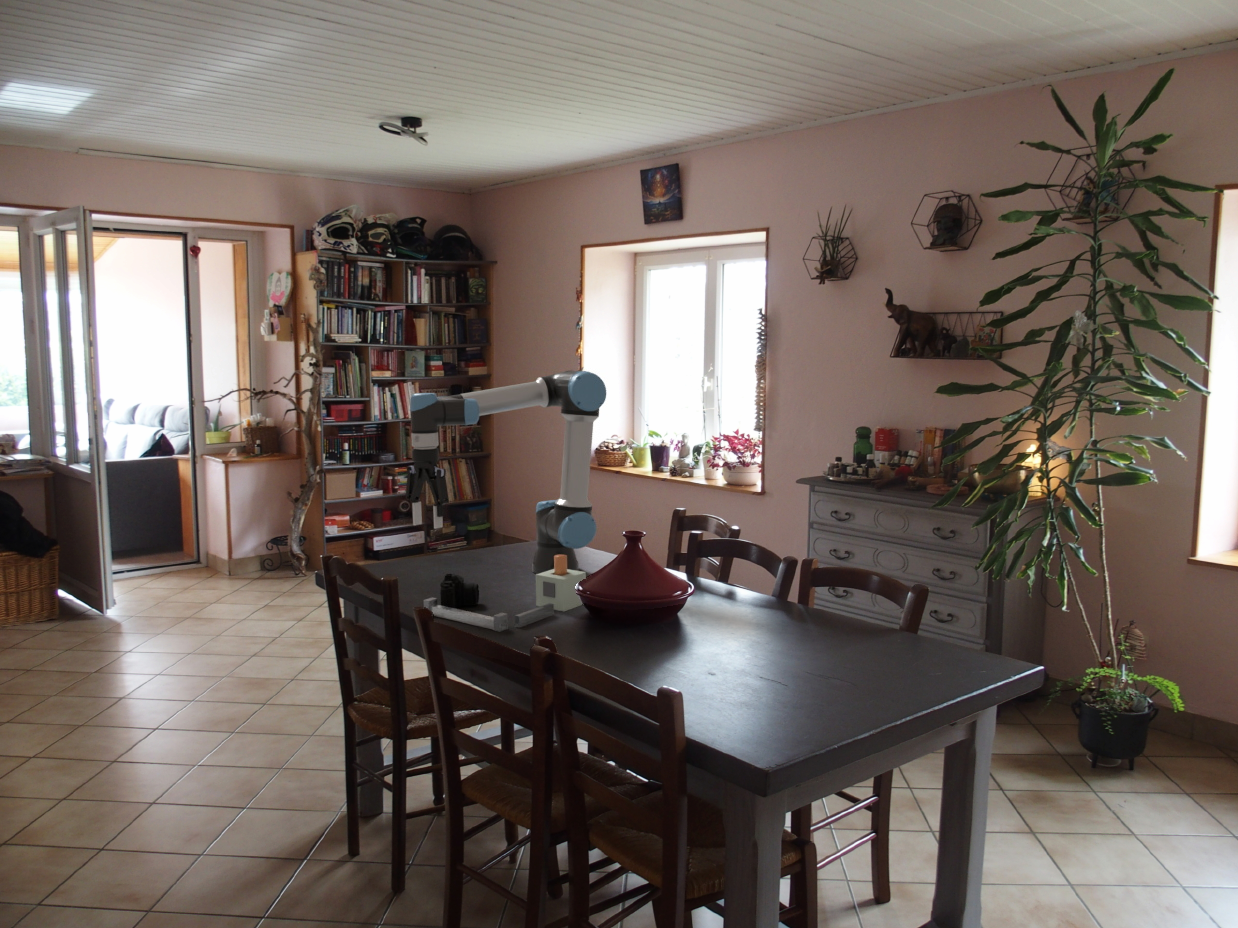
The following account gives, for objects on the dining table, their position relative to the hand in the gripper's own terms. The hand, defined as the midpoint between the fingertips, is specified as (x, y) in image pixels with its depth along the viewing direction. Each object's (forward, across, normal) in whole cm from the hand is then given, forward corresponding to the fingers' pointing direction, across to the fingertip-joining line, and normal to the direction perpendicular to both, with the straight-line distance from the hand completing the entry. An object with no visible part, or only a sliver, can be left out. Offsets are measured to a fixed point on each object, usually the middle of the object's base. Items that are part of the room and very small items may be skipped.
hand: (427, 526), depth 272 cm
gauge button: (+13, +36, +16) cm, 42 cm away
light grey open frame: (+21, +26, -3) cm, 34 cm away
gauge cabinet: (+21, +36, +16) cm, 45 cm away
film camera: (+22, +13, -1) cm, 25 cm away
